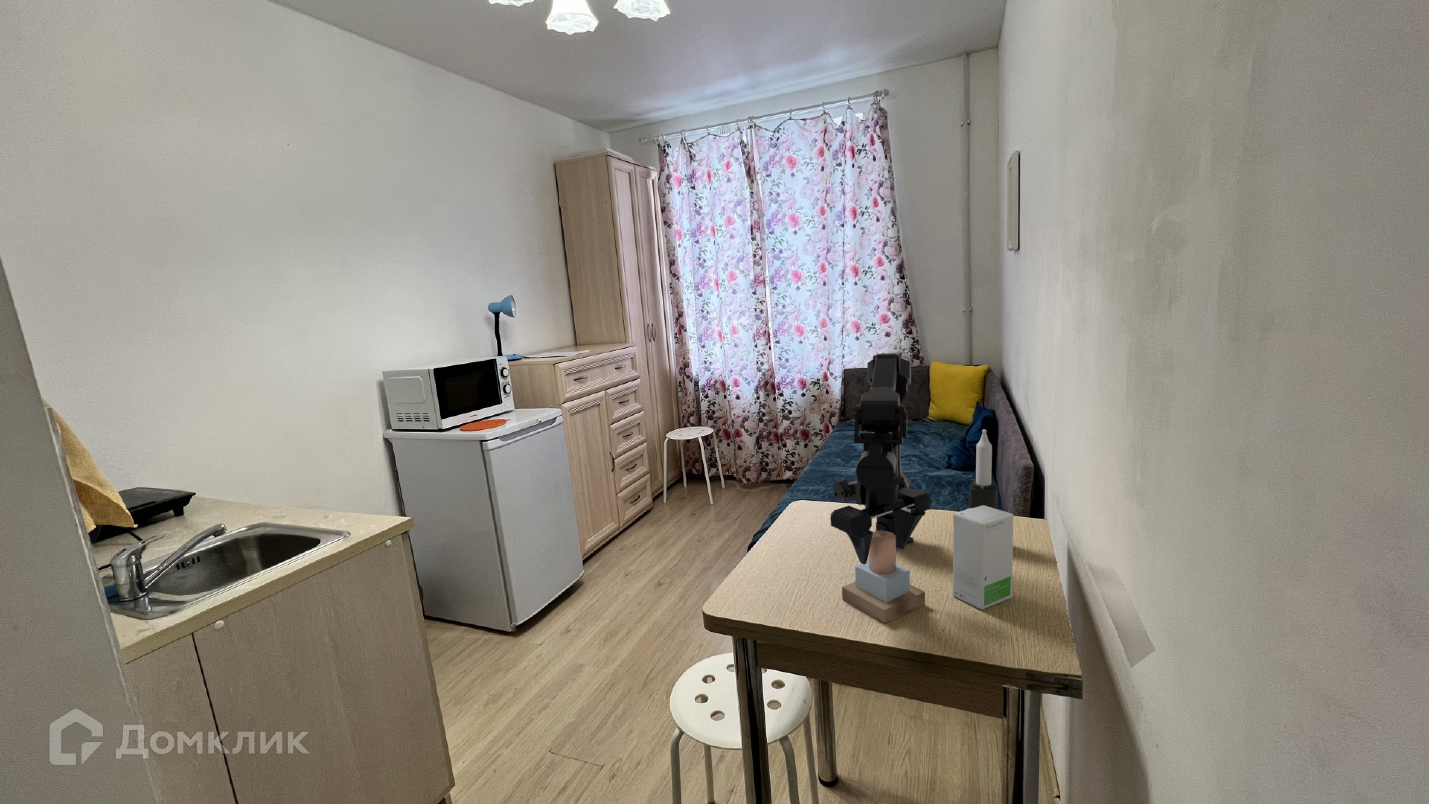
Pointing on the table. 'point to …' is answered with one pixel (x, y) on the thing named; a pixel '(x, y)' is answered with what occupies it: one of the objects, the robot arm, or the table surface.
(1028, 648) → the table surface
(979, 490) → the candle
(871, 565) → the peach rounded capsule
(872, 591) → the block
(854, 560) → the table surface
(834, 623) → the table surface
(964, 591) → the skincare box
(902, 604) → the base slab
